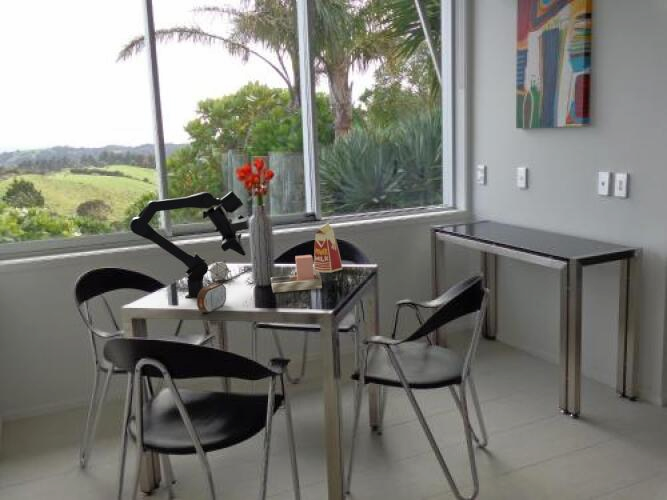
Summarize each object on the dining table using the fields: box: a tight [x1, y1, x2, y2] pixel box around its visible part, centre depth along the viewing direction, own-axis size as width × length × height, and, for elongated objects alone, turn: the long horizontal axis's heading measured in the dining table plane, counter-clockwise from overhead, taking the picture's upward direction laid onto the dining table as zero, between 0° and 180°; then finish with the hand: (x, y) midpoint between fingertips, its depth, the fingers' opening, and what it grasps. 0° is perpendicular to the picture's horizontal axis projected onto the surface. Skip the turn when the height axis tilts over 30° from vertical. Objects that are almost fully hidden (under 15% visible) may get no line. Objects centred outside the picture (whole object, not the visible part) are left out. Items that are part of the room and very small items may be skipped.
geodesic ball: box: [207, 259, 232, 282], centre depth 270 cm, size 9×8×10 cm
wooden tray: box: [270, 271, 323, 294], centre depth 250 cm, size 18×13×4 cm
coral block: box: [294, 254, 315, 281], centre depth 249 cm, size 6×5×10 cm
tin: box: [196, 282, 227, 314], centre depth 223 cm, size 15×3×8 cm, turn 159°
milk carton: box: [313, 221, 343, 273], centre depth 275 cm, size 9×9×20 cm
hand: (244, 255), depth 249 cm, fingers closed
